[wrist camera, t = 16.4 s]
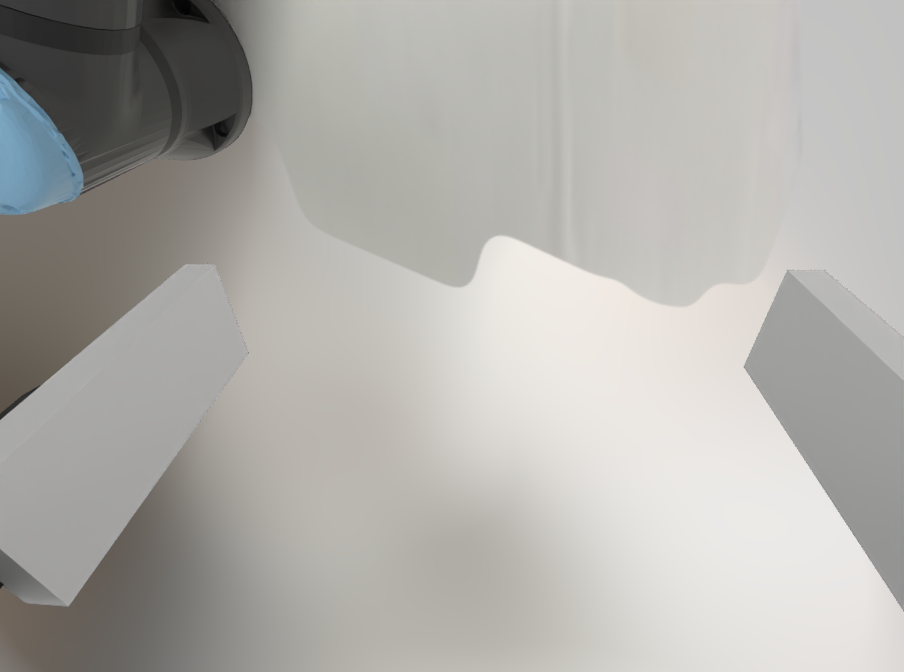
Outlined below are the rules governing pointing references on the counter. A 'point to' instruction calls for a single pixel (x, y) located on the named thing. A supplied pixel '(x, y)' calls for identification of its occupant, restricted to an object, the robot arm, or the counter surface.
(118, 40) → the robot arm
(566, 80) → the counter surface
